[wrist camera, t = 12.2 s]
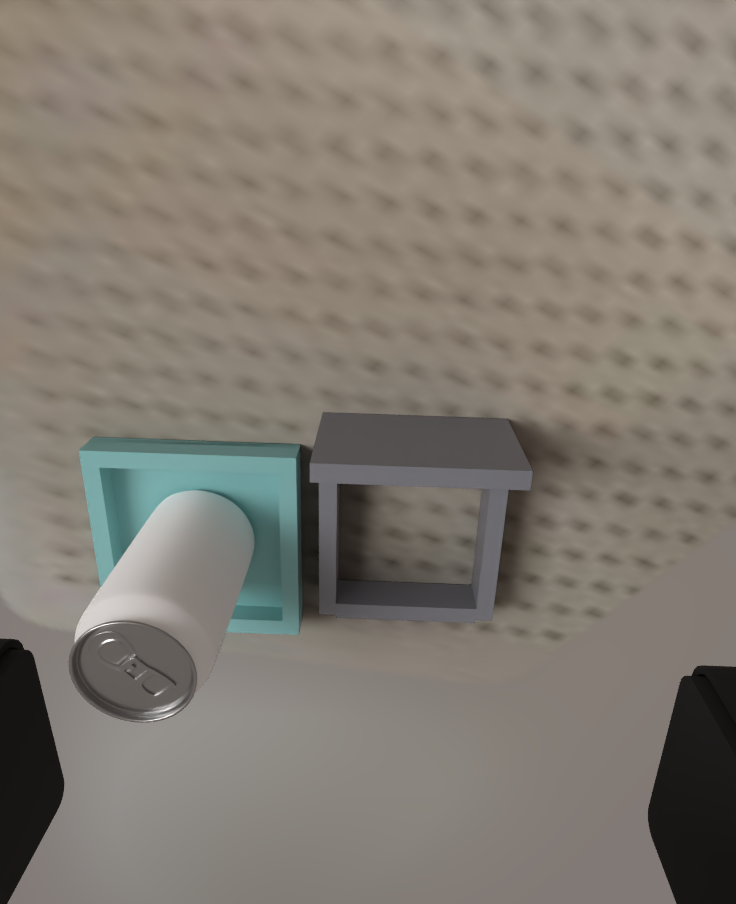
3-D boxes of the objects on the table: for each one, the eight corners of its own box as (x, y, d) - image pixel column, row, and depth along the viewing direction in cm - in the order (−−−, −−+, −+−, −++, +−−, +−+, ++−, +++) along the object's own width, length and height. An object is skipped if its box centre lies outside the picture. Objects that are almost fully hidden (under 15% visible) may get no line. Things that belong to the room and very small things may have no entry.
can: (199, 465, 38) (122, 587, 27) (278, 539, 40) (236, 681, 29) (127, 529, 40) (27, 668, 29) (206, 597, 41) (141, 751, 30)
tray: (300, 444, 38) (296, 458, 36) (302, 614, 42) (298, 634, 41) (93, 436, 38) (78, 450, 36) (118, 607, 43) (106, 627, 41)
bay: (507, 418, 37) (533, 471, 30) (485, 598, 42) (504, 676, 35) (323, 412, 37) (309, 463, 30) (322, 592, 42) (311, 669, 35)
